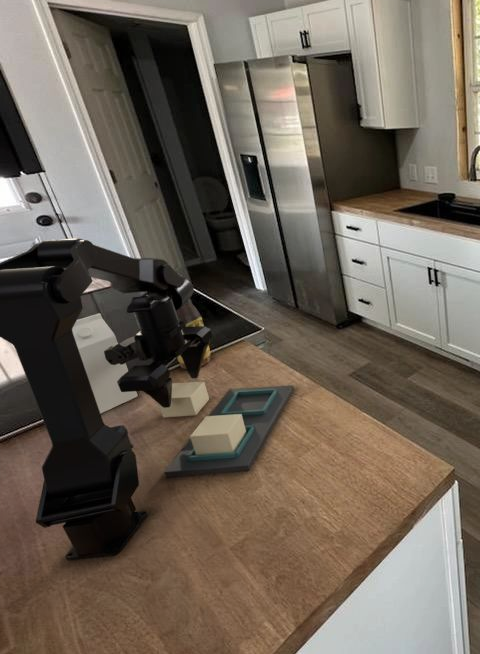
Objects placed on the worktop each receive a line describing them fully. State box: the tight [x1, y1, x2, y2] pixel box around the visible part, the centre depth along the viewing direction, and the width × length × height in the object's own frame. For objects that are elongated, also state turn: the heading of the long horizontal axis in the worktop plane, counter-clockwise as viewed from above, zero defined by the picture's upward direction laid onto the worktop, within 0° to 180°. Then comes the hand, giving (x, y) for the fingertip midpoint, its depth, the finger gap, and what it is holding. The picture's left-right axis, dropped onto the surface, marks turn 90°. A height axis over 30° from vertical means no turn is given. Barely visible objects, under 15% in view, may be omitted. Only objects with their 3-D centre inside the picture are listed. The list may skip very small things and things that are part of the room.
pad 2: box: [189, 414, 246, 455], centre depth 73 cm, size 5×6×4 cm
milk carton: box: [72, 313, 139, 414], centre depth 82 cm, size 7×7×19 cm
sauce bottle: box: [176, 297, 212, 370], centre depth 95 cm, size 7×6×20 cm
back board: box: [163, 384, 295, 478], centre depth 79 cm, size 22×13×2 cm, turn 8°
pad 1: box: [157, 381, 210, 418], centre depth 83 cm, size 5×6×4 cm
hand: (181, 391), depth 83 cm, fingers open, 9 cm apart
